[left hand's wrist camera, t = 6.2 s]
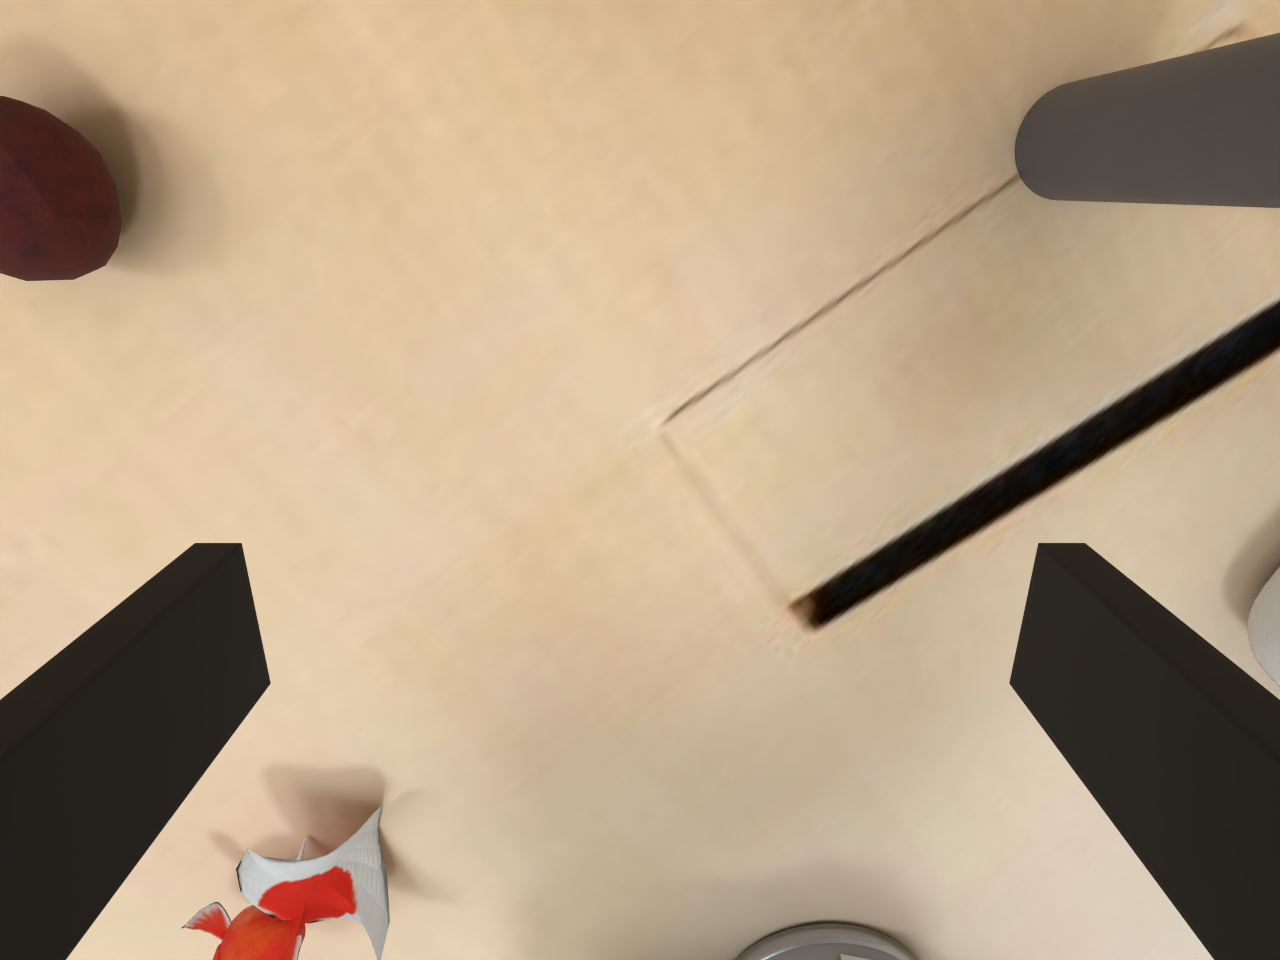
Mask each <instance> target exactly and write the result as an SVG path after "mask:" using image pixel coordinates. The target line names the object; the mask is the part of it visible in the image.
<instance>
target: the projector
mask: <svg viewBox="0 0 1280 960" xmlns="http://www.w3.org/2000/svg"><path fill="white" fill-rule="evenodd" d="M1248 638H1249V642H1250V646H1251V649H1252V652H1253V654H1254V656H1255V658H1256V660H1257V662H1258V663H1259V664H1260V666H1261V667H1262V668H1263V670H1264V671H1265V672H1266V673H1267V674H1268V676H1269V677H1270V678H1271V679H1272V680H1273V681H1274V682H1275V683H1276V684H1277V685H1278V686H1279V687H1280V567H1279V568H1278V569H1277V570H1276V572H1275V573H1274V574H1273V575H1272V577H1271V578H1270V579H1269V580H1268V582H1267V583H1266V584H1265V585H1264V587H1263V588H1262V590H1261V591H1260V593H1259V595H1258V596H1257V598H1256V599H1255V601H1254V603H1253V606H1252V608H1251V611H1250V614H1249V618H1248Z"/></svg>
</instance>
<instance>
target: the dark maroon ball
mask: <svg viewBox="0 0 1280 960" xmlns="http://www.w3.org/2000/svg"><path fill="white" fill-rule="evenodd" d="M121 222H122V220H121V214H120V209H119V203H118V198H117V192H116V187H115V184H114V182H113V180H112V178H111V176H110V174H109V172H108V170H107V168H106V166H105V164H104V162H103V160H102V157H101V155H100V153H99V152H98V151H97V150H96V149H95V148H94V147H93V146H92V145H91V144H90V143H89V142H88V141H87V140H86V139H85V138H84V137H83V136H82V135H81V134H80V133H79V132H78V131H76V130H75V129H73V128H72V127H70V126H69V125H67V124H66V123H64V122H62V121H61V120H59V119H58V118H56V117H55V116H53V115H52V114H50V113H49V112H47V111H46V110H43V109H41V108H38V107H35V106H33V105H30V104H27V103H25V102H22V101H19V100H15V99H12V98H8V97H5V96H0V273H2V274H5V275H8V276H12V277H15V278H18V279H22V280H25V281H40V280H73V279H76V278H78V277H81V276H83V275H85V274H88V273H90V272H92V271H95V270H97V269H99V268H101V267H103V266H105V265H106V263H107V262H108V260H109V259H110V257H111V256H112V254H113V253H114V251H115V250H116V248H117V247H118V241H119V234H120V228H121Z"/></svg>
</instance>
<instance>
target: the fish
mask: <svg viewBox="0 0 1280 960" xmlns="http://www.w3.org/2000/svg"><path fill="white" fill-rule="evenodd" d="M381 807H382V805H381V806H380V807H379V808H378V809H377V810H376V811H375V812H374V813H373V814H372V815H371V816H370V818H369V819H368V820H367V821H366V822H365V823H364V824H363V825H362V826H361V828H360V829H359V830H358V831H357V832H356V833H355V834H354V835H353V836H351V837H350V838H349V839H348V840H347V841H345V842H344V843H343V844H342V845H340V846H339V847H337V848H336V849H335V850H333V851H332V852H331V853H329V854H328V855H326V856H322V857H317V858H313V859H309V860H302V856H303V851H304V846H305V841H306V839H304V841H303V844H302V846H301V849H300V852H299V854H298V857H297V859H296V860H282V859H275V858H269V857H262V856H260V855H258V854H256V853H254V852H252V851H251V850H249V849H247V851H246V853H245V854H244V856H243V858H242V860H241V861H240V863H239V865H238V867H237V869H236V871H237V876H238V881H239V886H240V891H241V892H242V893H243V895H244V896H245V897H246V899H247V900H248V901H249V902H251V903H252V904H253V905H251V906H249V907H247V908H245V909H244V910H243V911H242V912H240V913H239V914H238V915H237V916H236V917H235V918H234V919H233V921H232V922H231V920H230V918H229V916H228V914H227V912H226V910H225V909H224V908H223V906H222V905H221V904H220V903H219V902H215V903H212V904H210V905H209V906H207V907H205V908H203V909H202V910H200V911H199V912H198V913H197V914H196V915H195V916H194V917H193V918H192V919H191V920H190V921H189V922H188V923H187V924H186V925H184V926H183V927H185V928H189V929H193V930H194V929H199V930H201V931H204V932H208V933H211V934H212V935H214V936H216V937H218V938H219V939H221V940H223V941H222V943H221V944H220V945H218V947H217V949H216V952H215V955H214V958H213V960H298V955H299V951H300V947H301V944H302V942H303V939H304V937H305V923H313V922H318V921H323V920H329V919H334V918H340V919H347V920H358V921H359V922H360V923H361V924H362V925H363V926H364V928H365V930H366V932H367V933H368V935H369V937H370V939H371V941H372V944H373V947H374V950H375V953H376V956H377V960H381V956H382V951H383V947H384V943H385V939H386V934H387V930H388V926H389V921H390V919H389V903H388V887H387V875H386V870H385V865H384V859H383V854H382V849H381V843H380V837H379V831H378V825H379V820H380V814H381ZM183 927H182V928H183Z"/></svg>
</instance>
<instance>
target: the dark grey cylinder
mask: <svg viewBox="0 0 1280 960" xmlns="http://www.w3.org/2000/svg"><path fill="white" fill-rule="evenodd" d="M1015 159H1016V165H1017V169H1018V172H1019V174H1020V177H1021V178H1022V180H1023V182H1024V183H1025V184H1026V185H1027V187H1028V188H1030V189H1031V190H1032V191H1033V192H1034V193H1036V194H1038V195H1040V196H1042V197H1044V198H1048V199H1053V200H1071V201H1099V202H1127V203H1155V204H1183V205H1211V206H1239V207H1267V208H1280V33H1277V34H1273V35H1268V36H1264V37H1260V38H1256V39H1252V40H1247V41H1243V42H1239V43H1235V44H1231V45H1226V46H1222V47H1218V48H1214V49H1210V50H1205V51H1201V52H1197V53H1193V54H1189V55H1184V56H1180V57H1176V58H1172V59H1168V60H1163V61H1159V62H1155V63H1151V64H1147V65H1142V66H1138V67H1134V68H1130V69H1126V70H1121V71H1117V72H1113V73H1109V74H1105V75H1100V76H1096V77H1092V78H1088V79H1084V80H1079V81H1075V82H1071V83H1067V84H1064V85H1061V86H1059V87H1057V88H1055V89H1053V90H1051V91H1050V92H1048V93H1046V94H1045V95H1044V96H1043V97H1041V98H1040V99H1039V100H1038V101H1037V102H1036V103H1035V104H1034V105H1033V107H1032V108H1031V109H1030V110H1029V112H1028V113H1027V115H1026V116H1025V118H1024V120H1023V122H1022V124H1021V126H1020V129H1019V132H1018V135H1017V139H1016V145H1015Z"/></svg>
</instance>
